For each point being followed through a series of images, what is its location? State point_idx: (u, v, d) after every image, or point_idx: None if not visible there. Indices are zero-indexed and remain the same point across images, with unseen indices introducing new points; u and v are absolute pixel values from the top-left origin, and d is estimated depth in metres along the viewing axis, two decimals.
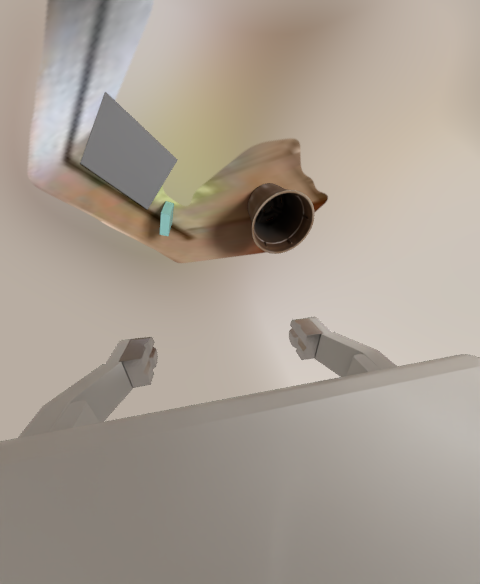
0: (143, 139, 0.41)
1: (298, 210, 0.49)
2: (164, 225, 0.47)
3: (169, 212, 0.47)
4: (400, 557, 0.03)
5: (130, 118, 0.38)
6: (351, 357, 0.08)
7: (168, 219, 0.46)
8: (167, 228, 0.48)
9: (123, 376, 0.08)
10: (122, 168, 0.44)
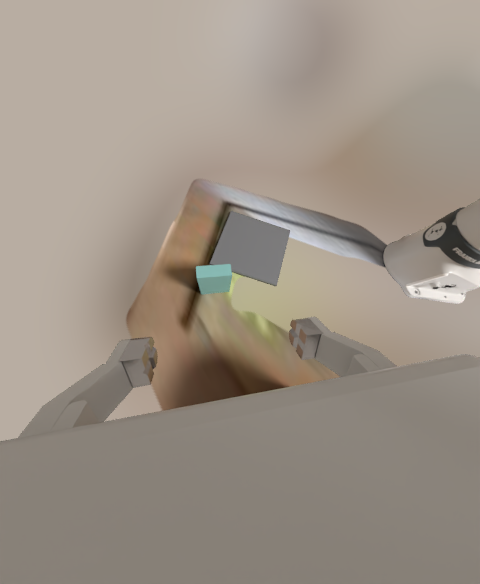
0: (276, 255, 0.43)
1: None
2: (213, 270, 0.30)
3: None
4: (400, 558, 0.03)
5: (284, 245, 0.44)
6: (351, 356, 0.08)
7: (225, 274, 0.30)
8: (209, 275, 0.30)
9: (123, 376, 0.08)
10: (243, 240, 0.43)
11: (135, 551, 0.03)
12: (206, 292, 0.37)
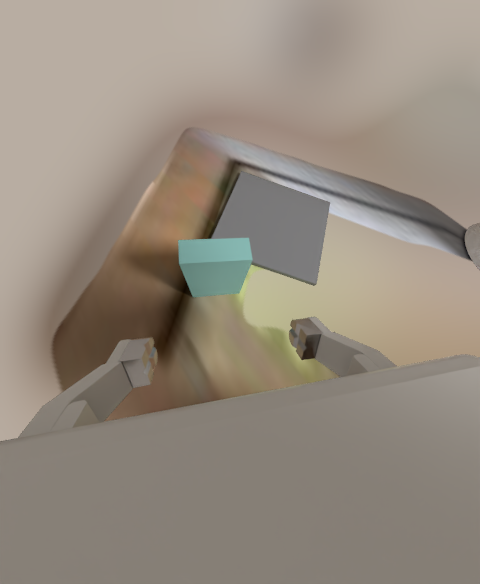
0: (312, 237, 0.27)
1: None
2: (214, 249, 0.15)
3: None
4: (400, 557, 0.03)
5: (324, 223, 0.28)
6: (351, 357, 0.08)
7: (238, 257, 0.15)
8: (207, 258, 0.14)
9: (123, 376, 0.08)
10: (260, 213, 0.27)
11: (135, 551, 0.03)
12: (201, 294, 0.22)
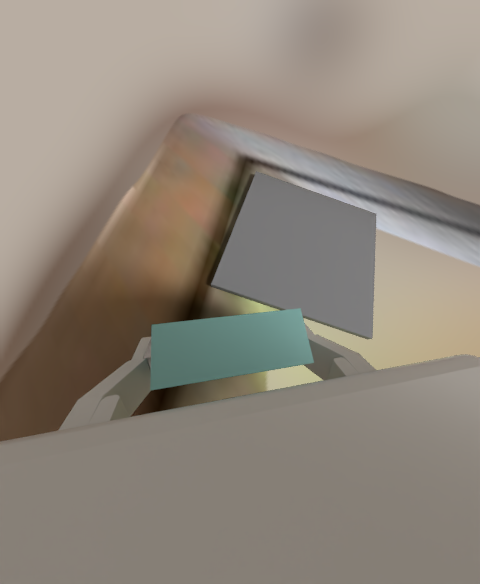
0: (358, 265, 0.19)
1: None
2: (231, 342, 0.07)
3: None
4: (400, 558, 0.03)
5: (372, 244, 0.20)
6: (332, 360, 0.08)
7: (283, 359, 0.07)
8: (216, 367, 0.06)
9: (147, 372, 0.08)
10: (285, 230, 0.19)
11: (135, 551, 0.03)
12: None
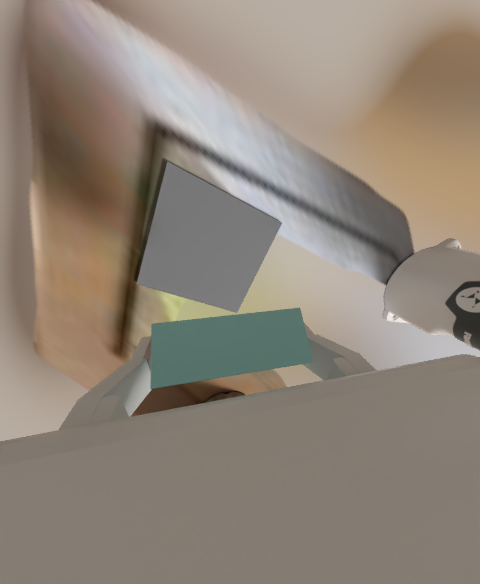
0: (246, 270, 0.27)
1: None
2: (231, 342, 0.07)
3: None
4: (400, 558, 0.03)
5: (264, 253, 0.27)
6: (332, 360, 0.08)
7: (283, 358, 0.07)
8: (216, 366, 0.06)
9: (147, 372, 0.08)
10: (193, 241, 0.24)
11: (135, 551, 0.03)
12: None
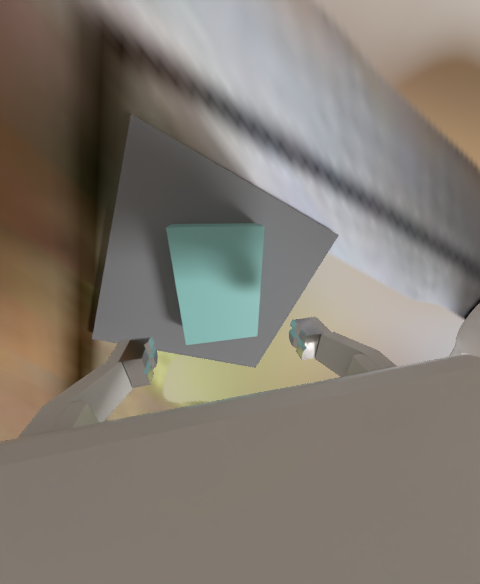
0: (273, 309, 0.17)
1: None
2: (214, 225, 0.12)
3: None
4: (400, 557, 0.03)
5: (304, 283, 0.16)
6: (351, 357, 0.08)
7: (245, 226, 0.11)
8: (205, 226, 0.11)
9: (123, 376, 0.08)
10: None
11: (135, 551, 0.03)
12: (199, 334, 0.14)
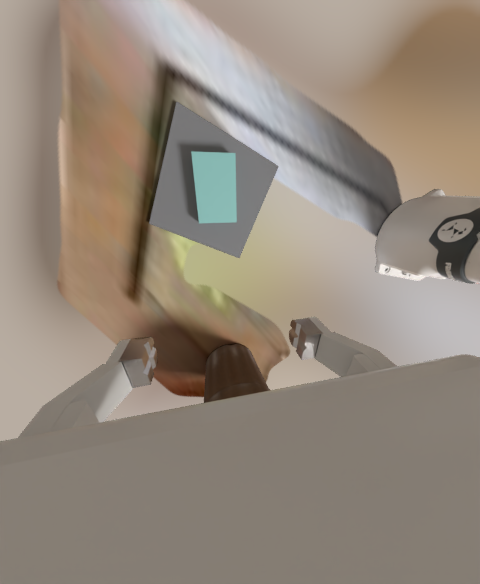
0: (246, 214, 0.30)
1: None
2: None
3: None
4: (400, 558, 0.03)
5: (262, 197, 0.30)
6: (351, 356, 0.08)
7: (226, 153, 0.25)
8: None
9: (123, 376, 0.08)
10: None
11: (135, 551, 0.03)
12: (205, 216, 0.27)
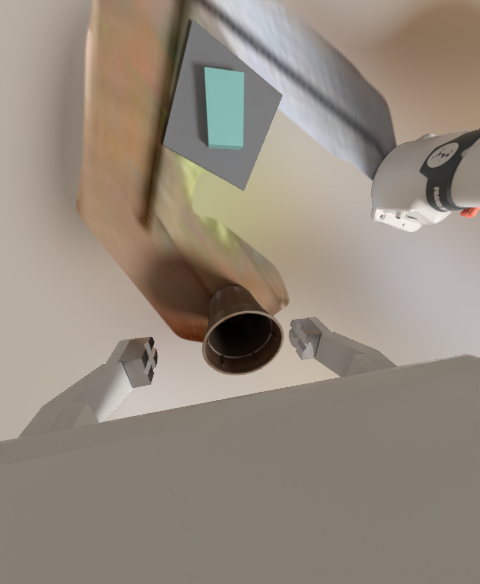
0: (252, 143, 0.33)
1: (252, 343, 0.43)
2: None
3: None
4: (401, 557, 0.03)
5: (267, 126, 0.32)
6: (351, 356, 0.08)
7: None
8: None
9: (123, 376, 0.08)
10: None
11: (135, 551, 0.03)
12: (215, 137, 0.30)
